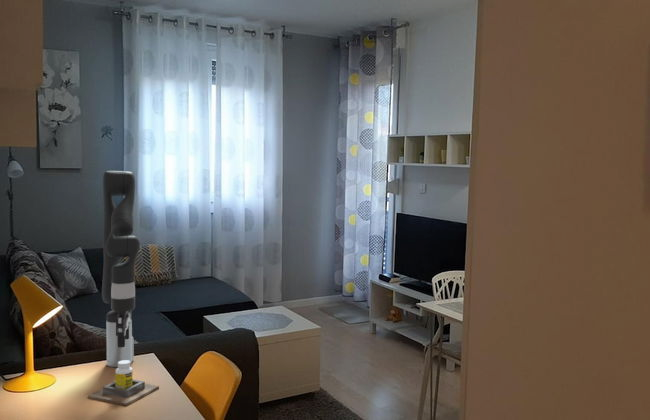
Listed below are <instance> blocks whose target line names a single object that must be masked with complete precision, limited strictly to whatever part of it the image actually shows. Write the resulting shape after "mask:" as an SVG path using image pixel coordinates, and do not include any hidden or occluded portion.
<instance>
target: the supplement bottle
mask: <svg viewBox="0 0 650 420" xmlns="http://www.w3.org/2000/svg"><path fill="white" fill-rule="evenodd" d="M114 378H115V380H114V381H115V388H120V389H127V388H129V387H131V386H132V379H133V367H131V364H130V361H129V360H122V361H119V362H118V367H116V368H115V377H114Z"/></svg>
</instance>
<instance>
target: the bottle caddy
mask: <svg viewBox="0 0 650 420" xmlns="http://www.w3.org/2000/svg"><path fill="white" fill-rule="evenodd" d="M158 389H160V386H159V385H156V384H152V383H151V384H150V383H146V382H145V381H143V380H138V379H133V378H132V386H131V387H129V388H127V389H120V388H115V380H114V381H113V382H111V383H109V384H106V385H104V386H102V388H100V389H98V390H96V391H94V392H92V393H90V394H88V395H87V399H92V400H96V401H101V402H105V403H106V402H107V403H110V404H116V405H120V406H124V407H127V406H130V404H132V403H134V402H137V401H138V400H140V399H142V398H144V397H145V396H147V395H150V394H152V393H153V392H155V391H157V390H158Z"/></svg>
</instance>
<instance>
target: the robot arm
mask: <svg viewBox="0 0 650 420" xmlns="http://www.w3.org/2000/svg"><path fill="white" fill-rule="evenodd" d="M102 176H103V177H102V196H103V197H102V198H103V232H102V241H103V242H102V246H103V247H102V248H103V249H102V250H103V267H102V280H101V282H102V285H101V298H102V302H104V303H105V304H110V305H111V306H110V309H111V310H110V311H108V312H107V313H106V317H105V318H106V320H105V322H106V323H105V325H106V366H107V367H111V368H119V367H118V362H119V361H122V360H129V361H130V365H131V364H132V363H133V361H135V359H134V356H135V352H134V350H135V348H134V347H135V346H134V342H135V341H134V336H133V327H132V326H133V325H132V324H133V322H132V321H133V320H132V319H133V317H132V316H133V315H132V313H133V311H134V310H135V308H136V286H135V285H136V284H135V268H136V266H135V265H136V262H137V258H138V254H139V251H140V248H141V247H140V246H141V242H140V239H139V238H138V237H137V236H136V235H132V234H133V232H134V220H133V217H134V216H133V212H134V211H133V210H134V204H135V194H136V178H135V174H134V173H133V172H132V171H126V170H105V172H104V173H103V175H102ZM115 196H116V197H124V198H123V199H122V200H121V201H120V202H119V203H118V205H115V203H114V200H113V197H115ZM123 258H127V260H126V261H124V262H121V261H122V260H123ZM120 262H121V263H120Z"/></svg>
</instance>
